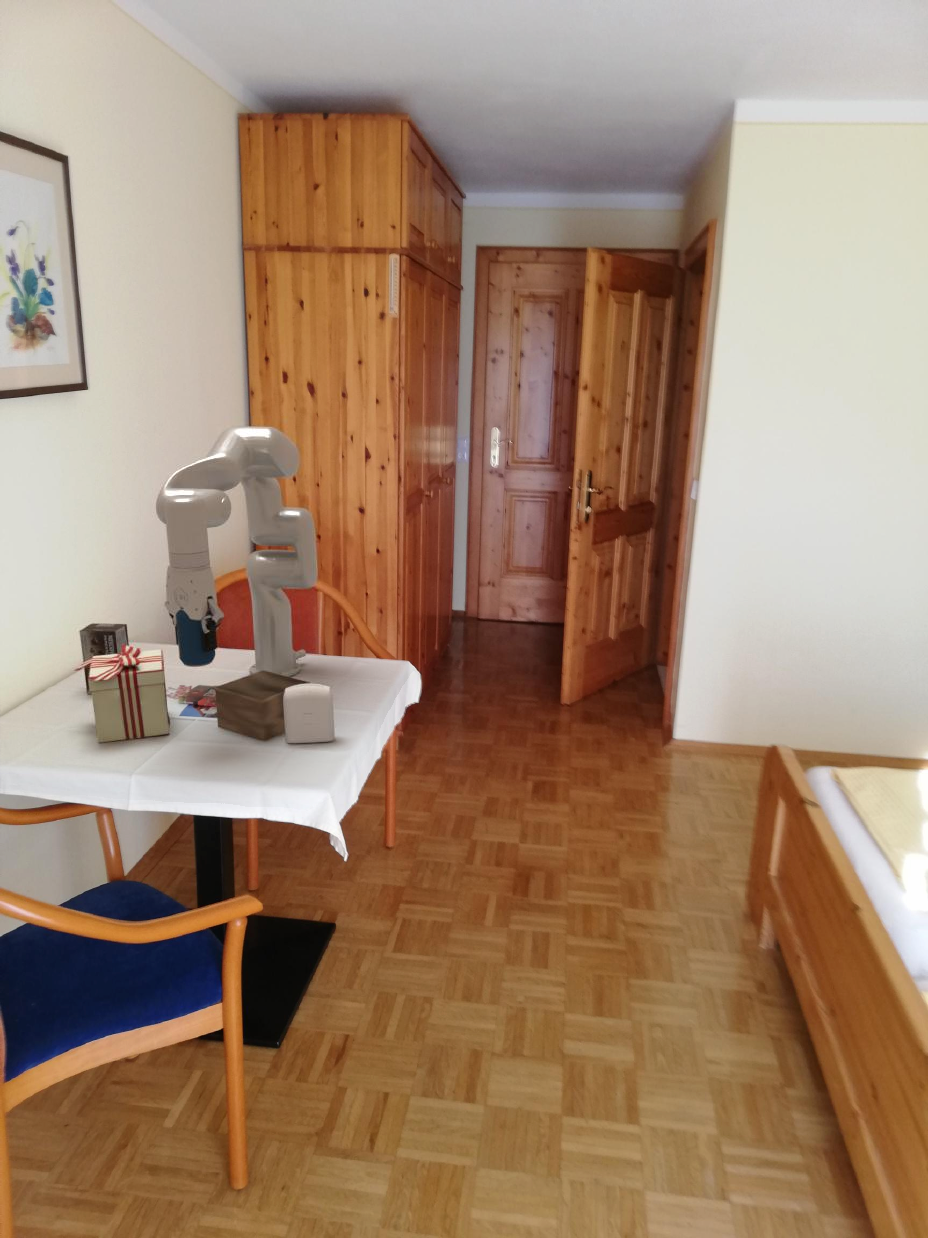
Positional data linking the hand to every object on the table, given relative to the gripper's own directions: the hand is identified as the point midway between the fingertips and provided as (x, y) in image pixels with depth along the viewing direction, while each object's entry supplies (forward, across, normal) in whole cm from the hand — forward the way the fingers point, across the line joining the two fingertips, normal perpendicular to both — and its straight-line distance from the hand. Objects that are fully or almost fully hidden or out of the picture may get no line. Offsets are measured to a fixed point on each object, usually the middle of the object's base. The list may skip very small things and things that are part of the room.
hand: (196, 646), depth 185 cm
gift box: (+22, -22, -3) cm, 31 cm away
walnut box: (+22, 0, +16) cm, 27 cm away
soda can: (+4, 0, 0) cm, 4 cm away
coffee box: (+23, -46, +10) cm, 52 cm away
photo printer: (+22, +15, +15) cm, 31 cm away
